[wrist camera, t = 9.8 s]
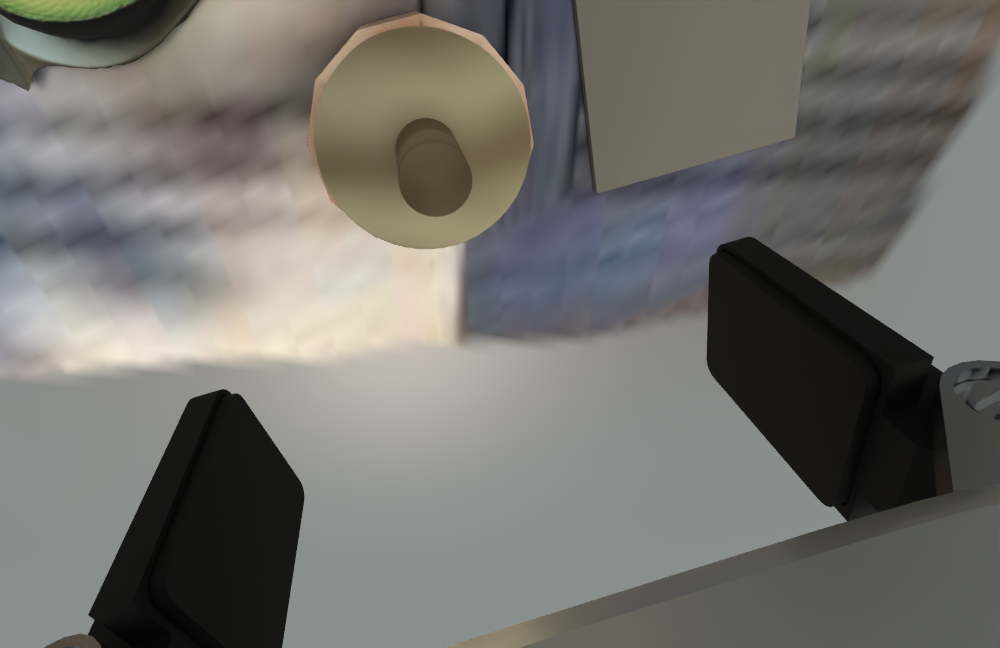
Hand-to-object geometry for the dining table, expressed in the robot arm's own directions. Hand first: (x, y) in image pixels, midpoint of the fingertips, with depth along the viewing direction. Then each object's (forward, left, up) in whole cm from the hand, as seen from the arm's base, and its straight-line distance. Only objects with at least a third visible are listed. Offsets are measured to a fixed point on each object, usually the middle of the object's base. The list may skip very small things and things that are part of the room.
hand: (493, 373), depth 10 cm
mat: (0, +17, -24) cm, 29 cm away
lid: (0, 0, -19) cm, 19 cm away
